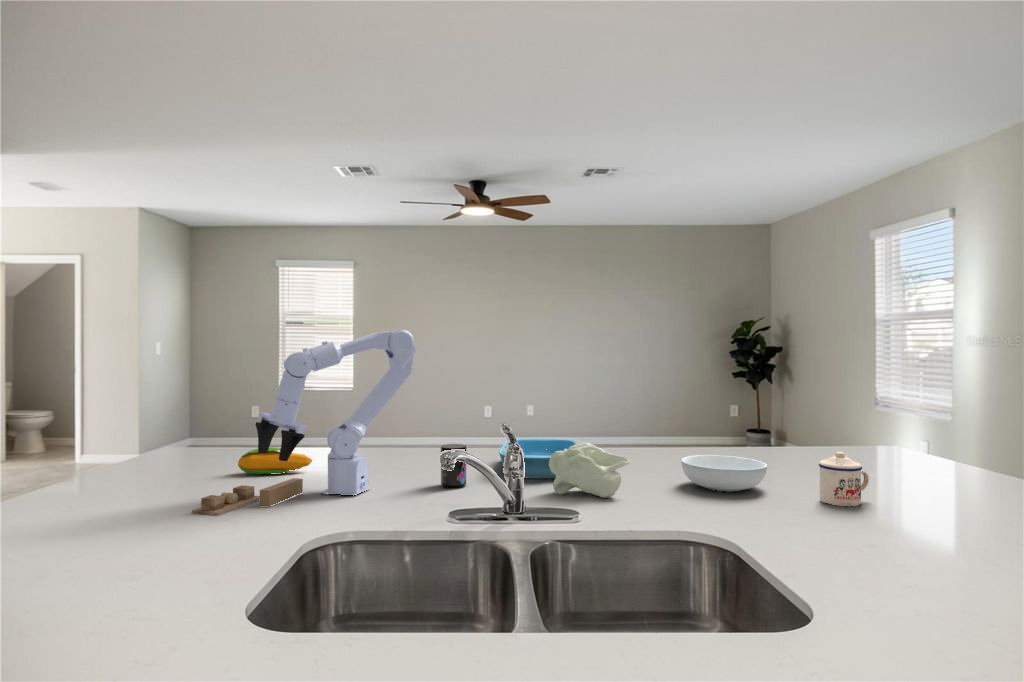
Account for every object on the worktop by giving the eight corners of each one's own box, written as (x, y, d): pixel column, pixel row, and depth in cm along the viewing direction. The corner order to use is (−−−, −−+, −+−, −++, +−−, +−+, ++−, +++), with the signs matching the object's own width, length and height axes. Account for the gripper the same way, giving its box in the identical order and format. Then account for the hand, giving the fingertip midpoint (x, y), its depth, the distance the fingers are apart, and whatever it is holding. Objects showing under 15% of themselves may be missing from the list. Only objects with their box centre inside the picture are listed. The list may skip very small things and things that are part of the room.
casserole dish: (507, 457, 210) (507, 435, 210) (576, 458, 208) (576, 436, 208) (494, 483, 173) (494, 456, 173) (578, 484, 171) (578, 457, 171)
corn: (241, 445, 185) (314, 443, 189) (241, 471, 186) (314, 469, 190) (235, 451, 178) (311, 449, 182) (235, 479, 178) (311, 476, 182)
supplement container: (454, 490, 163) (454, 449, 163) (435, 486, 167) (435, 446, 167) (472, 485, 169) (471, 445, 169) (452, 482, 173) (452, 443, 173)
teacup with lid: (836, 508, 146) (836, 456, 146) (810, 498, 155) (810, 449, 155) (882, 505, 149) (882, 454, 148) (854, 496, 157) (854, 448, 157)
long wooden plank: (302, 494, 160) (302, 478, 159) (269, 508, 147) (269, 490, 147) (292, 494, 160) (292, 478, 160) (258, 507, 148) (258, 489, 148)
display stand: (263, 498, 154) (263, 485, 154) (218, 515, 140) (217, 501, 140) (238, 496, 156) (238, 484, 156) (191, 512, 142) (191, 498, 142)
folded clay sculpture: (605, 518, 162) (631, 461, 165) (604, 518, 150) (632, 457, 152) (541, 485, 167) (567, 430, 169) (535, 482, 155) (563, 424, 157)
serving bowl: (780, 498, 156) (780, 469, 156) (692, 497, 156) (692, 469, 156) (750, 479, 176) (750, 454, 176) (673, 479, 177) (673, 453, 177)
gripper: (255, 393, 156) (239, 448, 155) (295, 405, 149) (279, 463, 148) (278, 396, 162) (263, 450, 161) (318, 408, 155) (302, 464, 154)
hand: (272, 456), depth 155 cm, fingers open, 7 cm apart
